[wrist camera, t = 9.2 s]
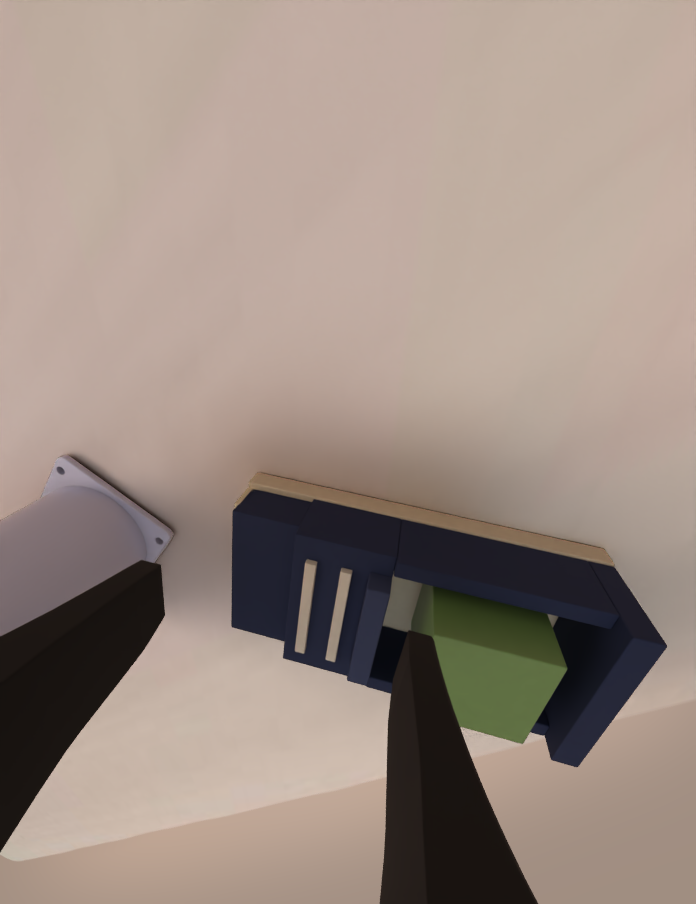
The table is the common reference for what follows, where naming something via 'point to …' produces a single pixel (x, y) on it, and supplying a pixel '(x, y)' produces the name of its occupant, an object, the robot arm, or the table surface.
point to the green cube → (491, 659)
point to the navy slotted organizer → (436, 564)
